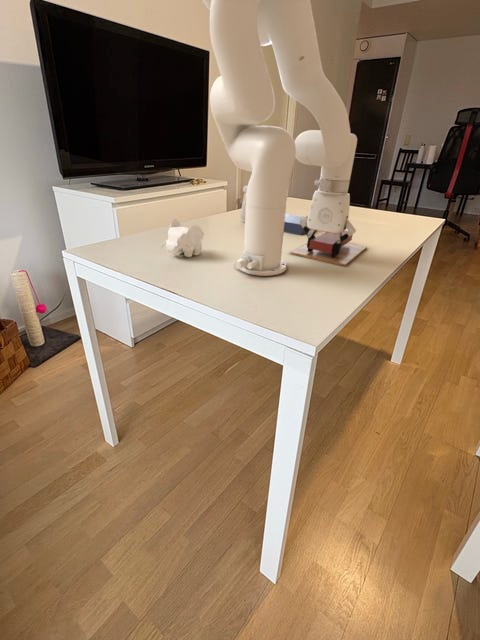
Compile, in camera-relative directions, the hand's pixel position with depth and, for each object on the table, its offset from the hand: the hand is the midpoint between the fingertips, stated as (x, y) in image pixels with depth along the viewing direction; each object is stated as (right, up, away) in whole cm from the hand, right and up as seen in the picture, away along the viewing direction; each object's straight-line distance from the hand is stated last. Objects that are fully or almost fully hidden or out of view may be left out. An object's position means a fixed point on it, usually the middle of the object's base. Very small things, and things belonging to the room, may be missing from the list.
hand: (322, 252), depth 97 cm
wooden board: (+3, +1, +5) cm, 6 cm away
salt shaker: (-21, +19, +34) cm, 44 cm away
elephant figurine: (-39, -1, -3) cm, 39 cm away
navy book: (-6, +15, +28) cm, 32 cm away
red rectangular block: (+4, +3, +4) cm, 7 cm away
